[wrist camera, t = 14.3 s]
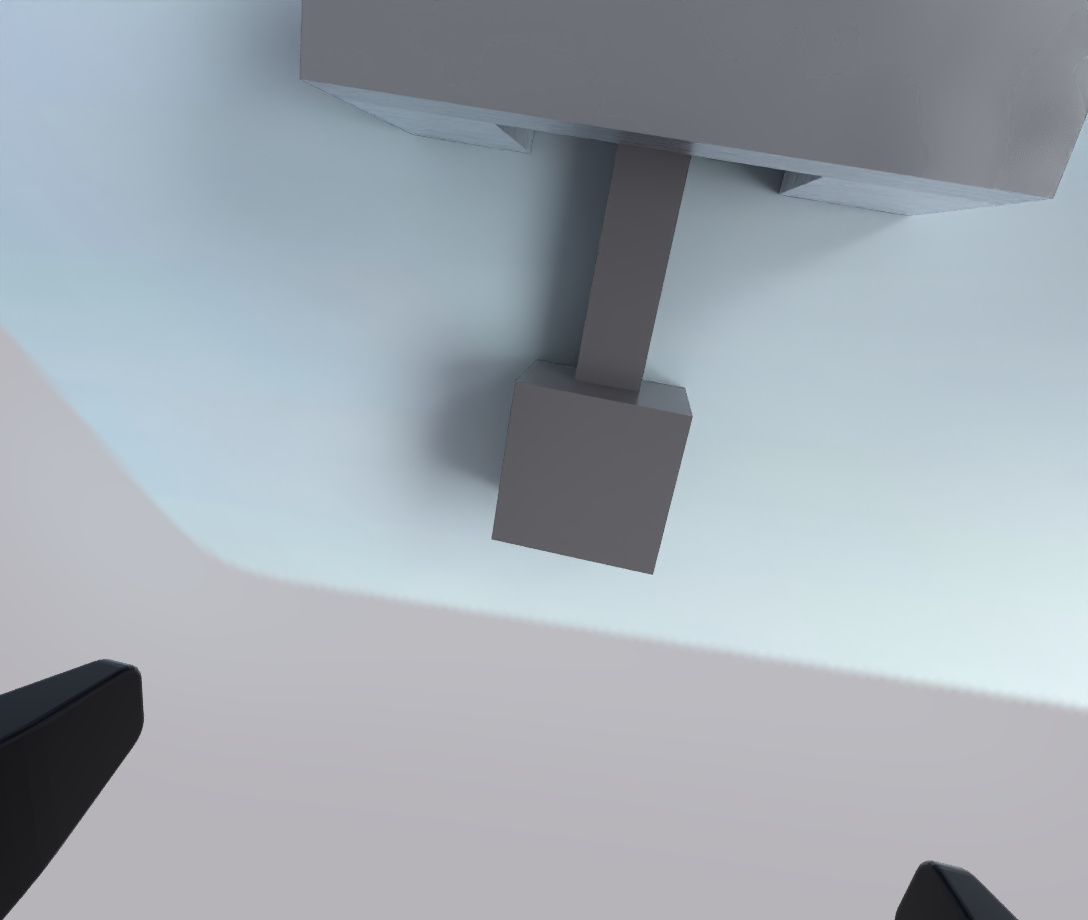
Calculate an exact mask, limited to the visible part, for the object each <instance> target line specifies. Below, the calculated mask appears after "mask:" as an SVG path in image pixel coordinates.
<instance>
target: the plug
mask: <svg viewBox="0 0 1088 920" xmlns="http://www.w3.org/2000/svg"><path fill="white" fill-rule="evenodd" d="M690 159H691V155H686V154H680V153H674V152H668V151H661V150H655V149H649V148H643V147H637V146H630V145H624V144H617V149H616V155H615V160H614V165H613V171H612V176H611V182H610V187H609V193H608V198H607V204H606V209H605V215H604V220H603V226H602V231H601V237H600V242H599V247H598V253H597V258H596V264H595V269H594V275H593V280H592V286H591V291H590V297H589V302H588V308H587V313H586V319H585V324H584V330H583V335H582V340H581V346H580V351H579V357H578V362H577V367H572V366H567V365H562V364H557V363H552V362H546V361H541V360H536V361H535V362H534V363H533V364H532V365H531V366H530V367H529V368H528V369H527V370H526V371H525V372H524V373H523V374H522V375H521V376H520V377H519V378H518V379H517V380H516V381H515V388H514V394H513V401H512V408H511V414H510V421H509V427H508V434H507V441H506V447H505V454H504V460H503V467H502V474H501V480H500V487H499V494H498V500H497V507H496V513H495V520H494V527H493V533H492V539H493V540H497V541H502V542H506V543H511V544H516V545H520V546H525V547H529V548H534V549H538V550H543V551H547V552H552V553H556V554H561V555H565V556H570V557H574V558H579V559H584V560H588V561H593V562H597V563H602V564H606V565H611V566H615V567H620V568H624V569H629V570H633V571H638V572H642V573H647V574H652V575H653V572H654V568H655V564H656V560H657V556H658V552H659V548H660V544H661V540H662V536H663V532H664V528H665V524H666V520H667V516H668V512H669V508H670V504H671V500H672V496H673V492H674V488H675V484H676V480H677V476H678V472H679V468H680V464H681V461H682V457H683V453H684V449H685V445H686V441H687V437H688V433H689V429H690V425H691V421H692V417H693V416H692V412H691V409H690V405H689V401H688V398H687V394H686V390H685V388H682V387H676V386H671V385H666V384H661V383H656V382H650V381H645V380H642V377H643V373H644V368H645V364H646V359H647V355H648V350H649V345H650V341H651V336H652V332H653V327H654V323H655V318H656V314H657V309H658V304H659V300H660V295H661V291H662V286H663V282H664V277H665V273H666V268H667V263H668V259H669V254H670V250H671V245H672V241H673V236H674V232H675V227H676V222H677V218H678V213H679V209H680V204H681V200H682V195H683V191H684V186H685V181H686V177H687V172H688V168H689V163H690Z"/></svg>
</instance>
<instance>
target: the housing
mask: <svg viewBox="0 0 1088 920" xmlns="http://www.w3.org/2000/svg"><path fill="white" fill-rule="evenodd" d="M300 80H302V81H304V82H306V83H309V84H311V85H313V86H315V87H317V88H319V89H321V90H323V91H325V92H327V93H329V94H331V95H333V96H335V97H337V98H339V99H341V100H343V101H345V102H347V103H349V104H352V105H354V106H356V107H358V108H360V109H362V110H364V111H366V112H368V113H370V114H372V115H374V116H376V117H378V118H380V119H382V120H384V121H386V122H388V123H390V124H392V125H394V126H397V127H399V128H401V129H403V130H405V131H407V132H409V133H411V134H414V135H420V136H426V137H432V138H438V139H444V140H450V141H456V142H462V143H469V144H475V145H481V146H487V147H493V148H499V149H505V150H511V151H517V152H524V153H530V154H531V148H532V141H533V134H534V130H537V131H543V132H549V133H555V134H562V135H568V136H574V137H580V138H587V139H593V140H599V141H605V142H612V143H618V144H624V145H630V146H637V147H643V148H649V149H655V150H661V151H668V152H674V153H680V154H686V155H693V156H699V157H705V158H711V159H718V160H724V161H730V162H736V163H743V164H749V165H755V166H761V167H768V168H774V169H780V170H785V174H784V177H783V181H782V185H781V189H780V192H779V194H780V195H786V196H792V197H798V198H805V199H811V200H817V201H823V202H829V203H835V204H841V205H847V206H853V207H860V208H866V209H872V210H878V211H884V212H890V213H896V214H902V215H908V216H912V215H920V214H928V213H937V212H945V211H953V210H962V209H970V208H978V207H987V206H995V205H1003V204H1012V203H1020V202H1029V201H1037V200H1045V199H1053V197H1054V195H1055V192H1056V190H1057V187H1058V185H1059V182H1060V180H1061V177H1062V175H1063V172H1064V170H1065V167H1066V165H1067V162H1068V160H1069V157H1070V155H1071V152H1072V150H1073V148H1074V145H1075V143H1076V140H1077V138H1078V135H1079V133H1080V130H1081V128H1082V125H1083V123H1084V120H1085V118H1086V115H1087V113H1088V0H302V25H301V59H300Z"/></svg>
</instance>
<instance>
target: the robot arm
mask: <svg viewBox="0 0 1088 920" xmlns="http://www.w3.org/2000/svg"><path fill="white" fill-rule="evenodd" d="M141 679H142V678H141V673H140V671H139V670H138V668H137V667H135V666H133V665H130V664H126V663H122V662H118V661H113V660H109V659H103V660H97V661H94V662H91V663H89V664H85V665H83V666H80V667H77V668H74V669H72V670H69V671H66V672H63V673H60V674H57V675H55V676H52V677H49V678H46V679H43V680H41V681H38V682H35V683H32V684H30V685H27V686H24V687H21V688H18V689H15V690H13V691H10V692H7V693H5V694H1V695H0V920H3V919H4V918H5V916H6V915H7V914H8V913H9V912H10V910H11V909H12V908H13V907H14V906H15V905H16V903H17V902H18V901H19V899H21V897H22V896H23V895H24V894H25V893H26V891H27V890H28V889H29V888H30V887H31V885H32V884H33V883H34V882H35V880H36V879H37V878H38V877H39V876H40V874H41V873H42V872H43V870H44V869H45V868H46V867H47V865H48V864H49V863H50V861H51V860H52V859H53V857H54V856H55V855H56V853H57V852H58V851H59V849H60V848H61V847H62V845H63V844H64V842H65V841H66V840H67V838H68V837H69V835H70V834H71V833H72V831H73V830H74V829H75V827H76V826H77V824H78V823H79V821H80V820H81V819H82V817H83V816H84V814H85V813H86V812H87V810H88V809H89V808H90V806H91V805H92V803H93V802H94V801H95V799H96V798H97V796H98V795H99V794H100V792H101V791H102V789H103V788H104V787H105V785H106V784H107V782H108V781H109V780H110V778H111V777H112V776H113V774H114V773H115V771H116V770H117V768H118V767H119V766H120V764H121V763H122V761H123V760H124V759H125V757H126V756H127V755H128V753H129V752H130V750H131V749H132V748H133V746H134V745H135V743H136V742H137V740H138V738H139V736H140V734H141V731H142V728H143V723H144V712H143V697H142V696H143V695H142V680H141ZM895 920H1018V919H1017V918H1016V917H1015V916H1014V915H1013V914H1012V913H1011V912H1010V911H1009V910H1008V909H1007V908H1006V907H1005V906H1004V905H1003V904H1002V903H1001V902H1000V901H999V900H998V899H997V898H996V897H995V896H994V895H993V894H992V893H991V892H990V891H989V890H988V889H987V888H986V887H985V886H984V885H983V884H982V883H981V882H980V881H979V880H978V879H977V878H976V877H975V876H974V875H972V874H971V873H970V872H968V871H967V870H965V869H962V868H959V867H956V866H952V865H947V864H944V863H939V862H935V861H925V862H923V863H922V864H920V865H919V867H918V869H917V870H916V873H915V874H914V876H913V878H912V881H911V882H910V885H909V887H908V889H907V891H906V893H905V895H904V897H903V899H902V901H901V903H900V905H899V907H898V909H897V912H896V916H895Z"/></svg>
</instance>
